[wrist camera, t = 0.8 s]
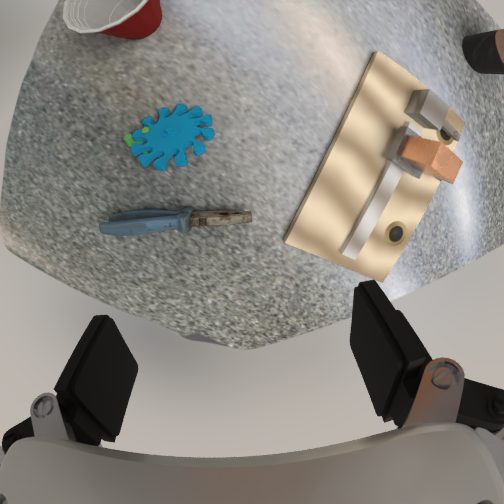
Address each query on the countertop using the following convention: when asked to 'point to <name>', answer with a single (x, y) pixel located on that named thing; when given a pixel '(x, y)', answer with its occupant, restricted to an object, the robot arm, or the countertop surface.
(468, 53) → the travel mug
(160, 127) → the gear
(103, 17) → the plastic cup
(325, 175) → the wooden slide jig
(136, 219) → the pliers
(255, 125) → the countertop surface
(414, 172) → the block
